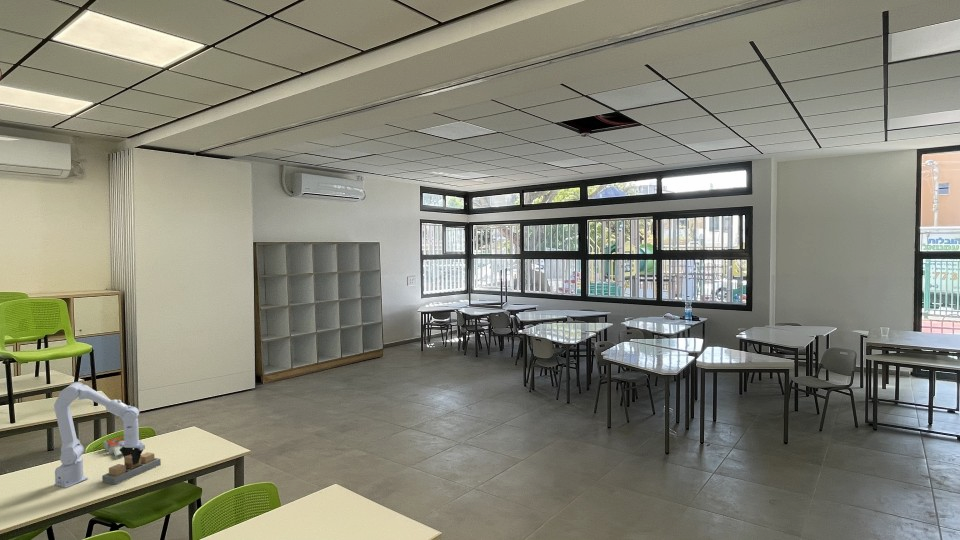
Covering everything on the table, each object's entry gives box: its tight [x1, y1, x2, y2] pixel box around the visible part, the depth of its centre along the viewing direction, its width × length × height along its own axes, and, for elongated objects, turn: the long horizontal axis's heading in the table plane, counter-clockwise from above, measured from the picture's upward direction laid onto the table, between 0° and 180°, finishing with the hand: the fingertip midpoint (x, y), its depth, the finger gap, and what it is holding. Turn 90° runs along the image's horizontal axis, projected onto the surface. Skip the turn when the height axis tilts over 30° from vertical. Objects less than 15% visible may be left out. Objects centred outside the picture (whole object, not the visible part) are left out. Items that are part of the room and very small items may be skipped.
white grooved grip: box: [103, 436, 124, 460], centre depth 265 cm, size 18×5×20 cm
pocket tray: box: [102, 452, 162, 486], centre depth 240 cm, size 22×8×6 cm, turn 160°
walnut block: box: [123, 454, 141, 469], centre depth 240 cm, size 4×4×5 cm
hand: (132, 462), depth 240 cm, fingers closed on walnut block, 4 cm apart
